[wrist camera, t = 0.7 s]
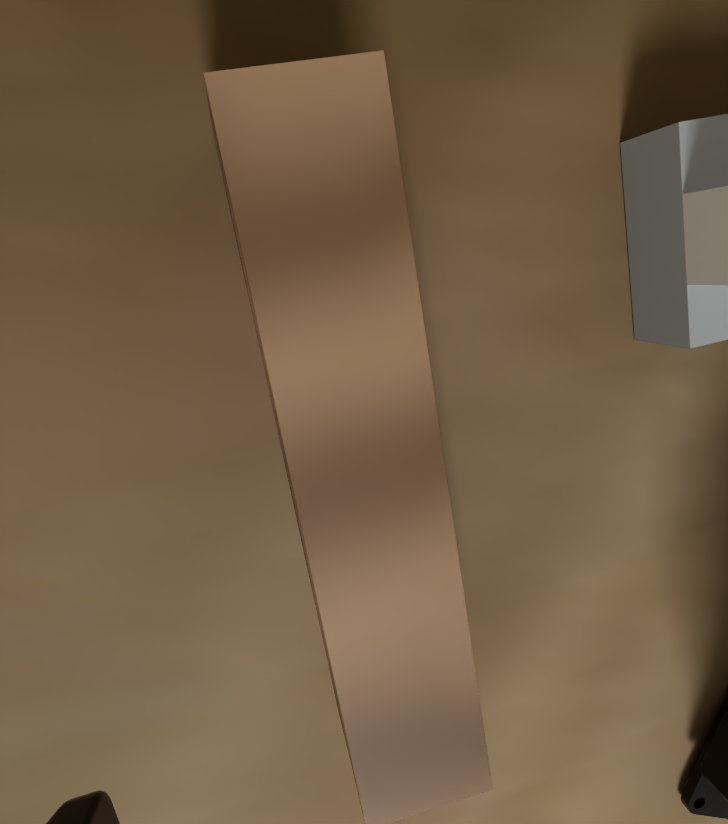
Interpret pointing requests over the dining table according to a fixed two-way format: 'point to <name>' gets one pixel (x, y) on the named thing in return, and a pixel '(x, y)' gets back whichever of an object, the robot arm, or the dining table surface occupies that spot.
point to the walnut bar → (356, 415)
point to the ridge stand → (678, 231)
